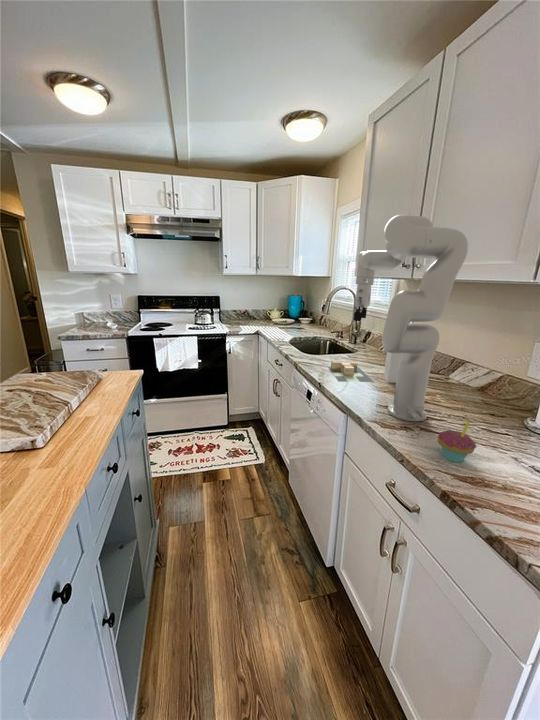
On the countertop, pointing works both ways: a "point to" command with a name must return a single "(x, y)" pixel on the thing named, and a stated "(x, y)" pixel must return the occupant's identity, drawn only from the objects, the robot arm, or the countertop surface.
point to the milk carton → (392, 366)
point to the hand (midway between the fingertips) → (359, 319)
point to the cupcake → (456, 444)
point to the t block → (344, 367)
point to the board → (358, 376)
